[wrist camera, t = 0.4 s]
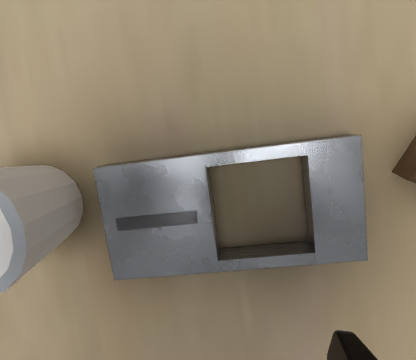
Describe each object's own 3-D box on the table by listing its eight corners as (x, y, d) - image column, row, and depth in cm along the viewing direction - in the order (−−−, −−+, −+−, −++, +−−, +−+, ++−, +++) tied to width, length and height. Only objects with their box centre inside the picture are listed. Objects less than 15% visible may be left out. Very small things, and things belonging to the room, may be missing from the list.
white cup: (97, 166, 21) (30, 184, 14) (86, 257, 23) (20, 314, 16) (3, 147, 22) (-105, 157, 15) (-2, 238, 23) (-103, 286, 16)
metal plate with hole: (355, 247, 21) (368, 261, 18) (125, 266, 22) (113, 281, 20) (348, 134, 19) (362, 135, 17) (106, 164, 21) (91, 168, 19)
